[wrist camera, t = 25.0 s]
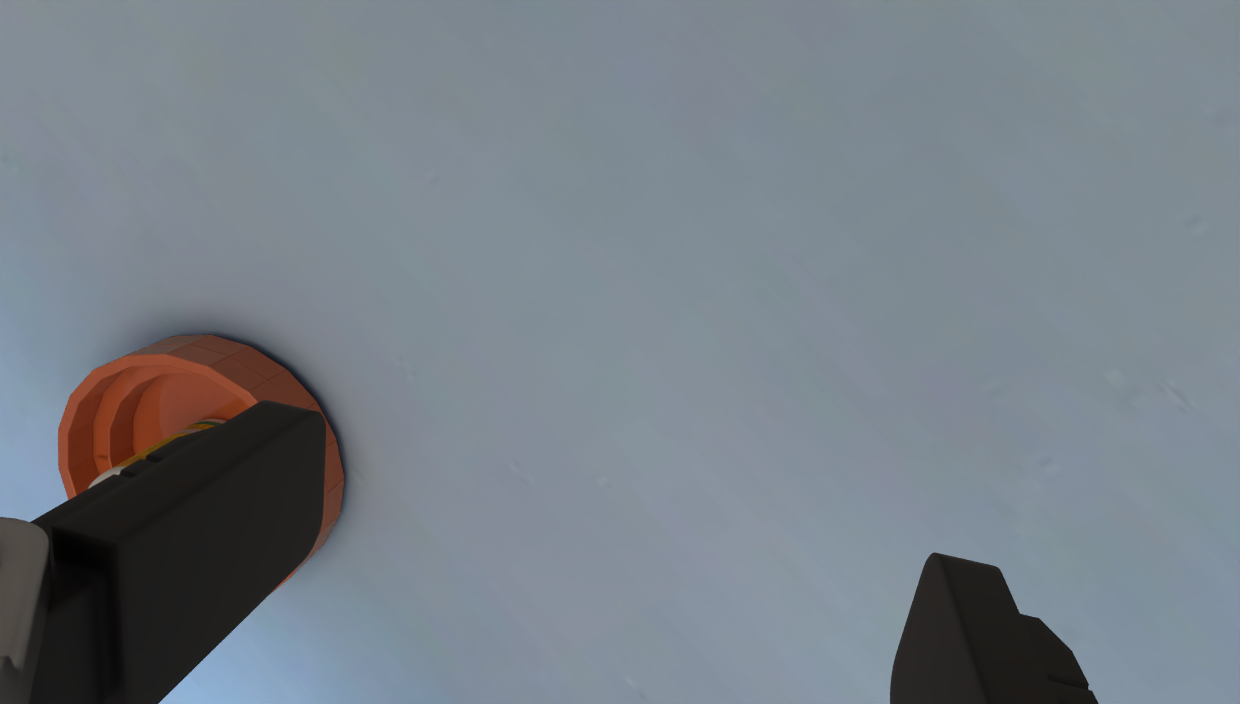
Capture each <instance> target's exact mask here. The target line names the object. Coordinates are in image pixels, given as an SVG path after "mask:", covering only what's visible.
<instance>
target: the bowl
mask: <svg viewBox="0 0 1240 704" xmlns="http://www.w3.org/2000/svg"><path fill="white" fill-rule="evenodd" d="M262 400H270V401H275V402H279V403H283V404H288V405H292V406H297V407H301V408H305V409H310V410H314V411H318V412H320V413H321V414H322V415H323V417H324V420H325V423H326V454H325V482H324V509H323V520H322V525H321V529H320V532H319V535H318V538H317V540H316V542H315V544H314V547H313V548H312V550H311V552H310V553H309V555H308V556H307V557H306V559H305V560H304V561H303V562H302V563H301V564H300V565H299V566H298V567H297V568H296V569H295V570H294V571H293V572H292V573H291V574H290V575H289V576H288V577H287V578H286V579H285V580H284V581H283V582H282V583H280V584H279V585H278V586H277V587H276V588H275V589H274V590H273V591H275V590H276V589H277V588H278V587H279V586H281V585H282V584H283V583H284V582H286V581H287V580H288V579H289V578H290V577H291V576H292V575H293V574H294V573H296V572H297V571H298V570H299V569H300V568H301V567H302V566H303V565H304V564H305V563H306V562H307V560H309V559H310V558H311V557H312V556H313V555H314V554H315V553H316V552H317V551H318V550H319V549H320V548H321V547H322V546H323V545H324V544H325V542H326V540H327V538H328V537H329V535H330V533H331V531H332V529H333V527H334V525H335V523H336V521H337V520H338V518H339V516H340V512H341V504H342V496H343V487H344V474H343V469H342V464H341V459H340V454H339V449H338V444H337V440H336V437H335V435H334V433H333V431H332V430H331V428H330V426H329V424H328V422H327V420H326V418H325V416H324V414H323V412H322V410H321V409H320V407H319V405H318V403H317V402H316V400H315V399H314V398H313V397H312V396H311V395H310V394H309V393H308V391H307V390H306V389H305V388H304V387H303V386H302V385H301V384H300V383H299V382H298V381H297V380H296V378H295V377H294V376H293V375H292V374H291V373H290V372H289V371H288V370H286V368H284V367H282V366H281V365H279V364H278V363H276V362H275V361H273V360H271V359H270V358H268V357H267V356H265V355H263V354H262V353H260V352H259V351H257V350H256V349H254V348H252V347H250V346H248V345H244V344H241V343H238V342H234V341H231V340H227V339H224V338H220V337H217V336H213V335H187V336H173V337H170V338H167V339H165V340H162V341H160V342H157V343H155V344H152V345H150V346H148V347H145V348H143V349H140V350H138V351H135V352H133V353H130V354H128V355H126V356H123V357H121V358H119V359H116V360H114V361H112V362H110V363H107V364H105V365H103V366H101V367H98V368H96V369H94V370H93V371H92V372H91V373H90V374H89V375H88V376H87V377H86V378H85V379H84V381H83V382H82V383H81V384H80V385H79V386H78V387H77V388H76V389H75V390H74V392H73V393H72V394H71V395H70V397H69V400H68V402H67V405H66V408H65V411H64V414H63V417H62V420H61V423H60V425H59V428H58V429H59V430H58V466H59V471H60V474H61V477H62V480H63V484H64V487H65V490H66V493H67V497H68V500H70V499H71V498H73V497H75V496H77V495H78V494H80V493H82V492H84V491H85V490H87V489H88V487H89V486H90V485H91V483H92V482H93V481H94V480H95V479H96V478H97V477H98V476H100V475H101V474H103V473H104V472H105V471H107V470H109V469H111V468H113V467H115V466H117V465H119V464H120V463H122V462H124V461H125V460H127V459H129V458H131V457H133V456H134V455H136V454H138V453H140V452H142V451H144V450H145V449H147V448H149V447H151V446H153V445H155V444H157V443H158V442H160V441H162V440H164V439H166V438H167V437H169V436H171V435H173V434H175V433H176V432H178V431H180V430H182V429H184V428H185V427H187V426H190V425H191V424H193V423H196V422H198V421H201V420H205V419H220V420H225V421H228V420H230V419H231V418H233V417H235V416H236V415H238V414H240V413H241V412H243V411H245V410H246V409H248V408H250V407H251V406H253V405H255V404H256V403H258V402H260V401H262ZM273 591H272V592H273ZM272 592H271V593H272ZM271 593H270V594H271ZM270 594H269V595H270Z"/></svg>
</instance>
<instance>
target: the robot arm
mask: <svg viewBox="0 0 1240 704" xmlns="http://www.w3.org/2000/svg"><path fill="white" fill-rule="evenodd" d="M325 454H326V423H325V420H324V417H323V415H322V414H321V413H320V412H318V411H314V410H310V409H305V408H301V407H297V406H292V405H288V404H283V403H279V402H275V401H270V400H262V401H260V402H258V403H256V404H255V405H253V406H251V407H250V408H248V409H246V410H245V411H243V412H241V413H240V414H238V415H236V416H235V417H233V418H231V419H230V420H228V421H226V422H225V423H223V424H221V425H219V426H214V427H211V428H208V429H204V430H201V431H197V432H194V433H191V434H187V435H184V436H180V437H177V438H175V439H174V440H172V441H170V442H169V443H167V444H165V445H163V446H162V447H160V448H158V449H156V450H155V451H153V452H151V453H149V454H148V455H146V459H145V460H143V459H139V460H137V461H136V462H134V463H132V464H130V465H129V466H127V467H125V468H123V469H122V470H121V471H120V474H119V475H116V474H113V475H111V476H110V477H108V478H106V479H104V480H103V481H101V482H99V483H97V484H96V485H94V486H92V487H90V488H89V489H87V490H85V491H84V492H82V493H80V494H78V495H77V496H75V497H73V498H71V499H70V500H68V501H66V502H64V503H63V504H61V505H59V506H57V507H56V508H54V509H52V510H51V511H49V512H47V513H45V514H44V515H42V516H40V517H38V518H37V519H35V520H33V521H31V522H27V521H24V520H19V519H14V518H5V517H0V704H158V703H159V702H160V701H161V700H162V699H163V698H164V697H165V696H166V695H167V694H169V693H170V692H171V691H172V690H173V689H174V688H175V687H176V686H177V685H178V684H179V683H180V682H181V681H182V680H183V679H184V678H185V677H186V676H187V675H188V674H189V673H190V672H191V671H192V670H193V669H194V668H195V667H196V666H197V665H198V664H199V663H200V662H201V661H202V660H203V659H204V658H205V657H206V656H207V655H208V654H209V653H210V652H211V651H212V650H213V649H214V648H215V647H216V646H217V645H218V644H219V643H220V642H221V641H222V640H223V639H225V638H226V637H227V636H228V635H229V634H230V633H231V632H232V631H233V630H234V629H235V628H236V627H237V626H238V625H239V624H240V623H241V622H242V621H243V620H244V619H245V618H246V617H247V616H248V615H249V614H250V613H251V612H252V611H253V610H254V609H255V608H256V607H257V606H258V605H259V604H260V603H261V602H262V601H263V600H264V599H265V598H266V597H267V596H268V595H269V594H270V593H271V592H272V591H273V590H274V589H275V588H276V587H277V586H278V585H279V584H280V583H282V582H283V581H284V580H285V579H286V578H287V577H288V576H289V575H290V574H291V573H292V572H293V571H294V570H295V569H296V568H297V567H298V566H299V565H300V564H301V563H302V562H303V561H304V560H305V559H306V557H307V556H308V555H309V553H310V552H311V550H312V548H313V547H314V544H315V542H316V540H317V538H318V535H319V532H320V529H321V525H322V520H323V509H324V482H325ZM1088 685H1089V684H1088V682H1087V680H1086V678H1085V676H1084V674H1083V672H1082V670H1081V668H1080V666H1079V664H1078V662H1077V660H1076V658H1075V656H1074V654H1073V652H1072V651H1071V650H1070V649H1069V648H1068V647H1067V646H1066V645H1065V644H1064V643H1063V642H1062V641H1061V640H1060V639H1059V638H1058V637H1057V636H1056V635H1055V634H1054V633H1053V632H1052V631H1051V630H1050V629H1049V628H1048V627H1047V626H1046V625H1045V624H1044V623H1043V622H1042V621H1041V620H1040V619H1039V618H1036V617H1031V616H1027V615H1023V614H1020V613H1019V611H1018V609H1017V606H1016V604H1015V602H1014V600H1013V597H1012V595H1011V593H1010V590H1009V588H1008V586H1007V584H1006V581H1005V579H1004V577H1003V575H1002V573H1001V571H1000V569H999V568H998V567H996V566H992V565H988V564H983V563H979V562H975V561H970V560H966V559H961V558H957V557H953V556H948V555H944V554H939V553H932V554H931V555H930V556H929V557H928V559H927V561H926V563H925V565H924V568H923V571H922V574H921V577H920V580H919V583H918V586H917V589H916V593H915V596H914V599H913V602H912V605H911V608H910V612H909V615H908V618H907V621H906V624H905V627H904V631H903V634H902V637H901V640H900V643H899V647H898V650H897V653H896V656H895V660H894V665H893V670H892V677H891V687H890V704H1098V702H1097V700H1096V698H1095V696H1094V694H1093V692H1092V691H1090V690H1088Z"/></svg>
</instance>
